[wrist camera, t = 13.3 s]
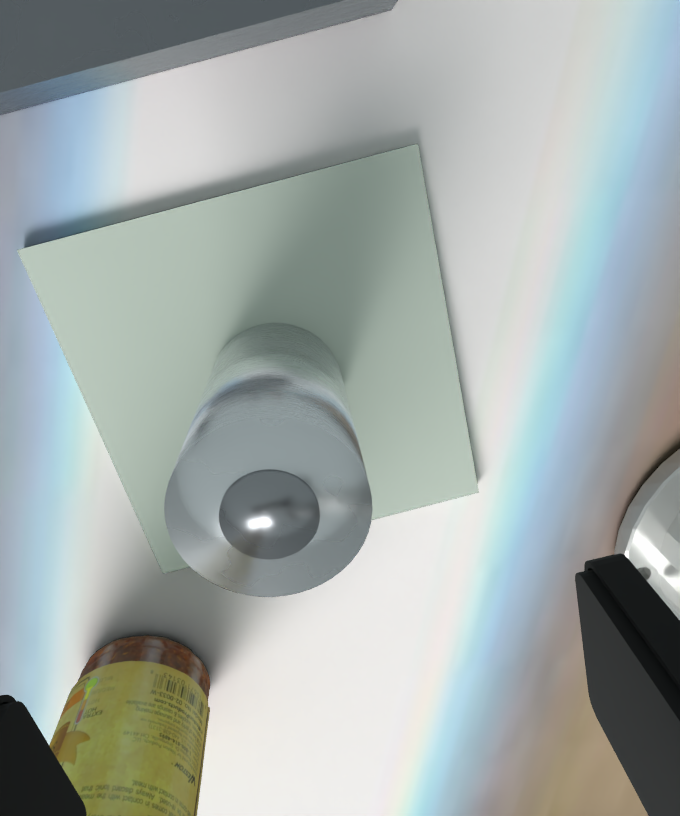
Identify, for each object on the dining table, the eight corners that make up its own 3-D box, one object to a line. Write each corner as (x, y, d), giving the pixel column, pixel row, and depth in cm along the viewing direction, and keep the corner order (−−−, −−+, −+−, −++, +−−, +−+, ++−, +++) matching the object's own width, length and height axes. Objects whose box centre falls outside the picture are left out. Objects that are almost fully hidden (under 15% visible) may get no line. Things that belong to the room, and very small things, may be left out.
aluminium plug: (323, 307, 22) (345, 396, 13) (355, 427, 23) (393, 573, 15) (192, 343, 22) (129, 454, 13) (235, 459, 24) (204, 622, 15)
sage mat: (414, 144, 20) (417, 143, 20) (475, 486, 26) (478, 492, 25) (22, 248, 20) (16, 250, 20) (165, 566, 26) (163, 573, 25)
